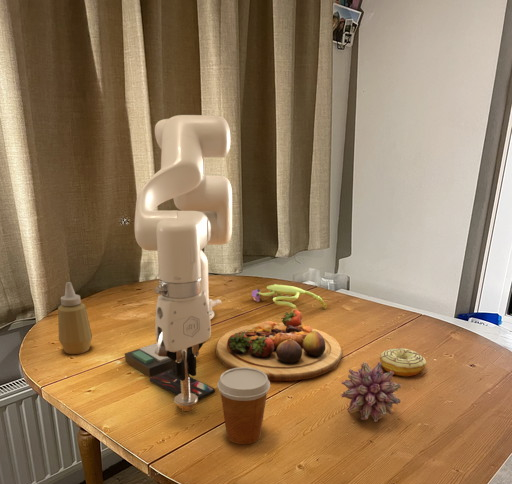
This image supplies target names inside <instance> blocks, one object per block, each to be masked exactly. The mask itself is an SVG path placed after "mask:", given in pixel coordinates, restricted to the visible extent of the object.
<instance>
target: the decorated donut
mask: <svg viewBox="0 0 512 484" xmlns="http://www.w3.org/2000/svg"><path fill="white" fill-rule="evenodd" d="M379 362H381V363H382V364H381V368H383V370H385V371H386V372H390V371H393V372H394V374H393V375H395V376H399V377H410V376H411V377H412V376H417V375H418V374H420V373H422V371H423V370H424V368H426V366H427V361H426V359H425V357H424V356H423V355H422V354H420V353H418V352H417V351H415V350H412V349H409V348H404V347H403V348H401V347H399V348H389V349H385V350H383V351H382V352H381V353H380V355H379Z"/></svg>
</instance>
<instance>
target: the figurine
mask: <svg viewBox="0 0 512 484" xmlns="http://www.w3.org/2000/svg"><path fill="white" fill-rule="evenodd" d="M266 290H267V291H268V292H261V289H260V288H257V289H254V290H252V292H251V297H252V300H253V301H255V302H257V303H259V302H261V301H262V299H261V297H273V298H272V302H273V303H274V304H275V305H278V306H286V307H289V308H292V309H293V310H297V305H296V304H294V303H292V302H289V301H296V300H297V299H298V298H299V297H300V296H301V295H306V296H309V297H311V298H313V299H314V300H316V301H317V302H318V303H319V304H320V305H321V306H322V308H323V309H325V310H326V309H327V308H328V305H327V303H326V302H325V301H324V299H323V298H322V297H321V296H320V295H317V294H315V293H313V292H311V291H309V290H304V289H302V288H300V287H296V286H292V285H286V284H277V283H274V284H271V285H267V286H266Z"/></svg>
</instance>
